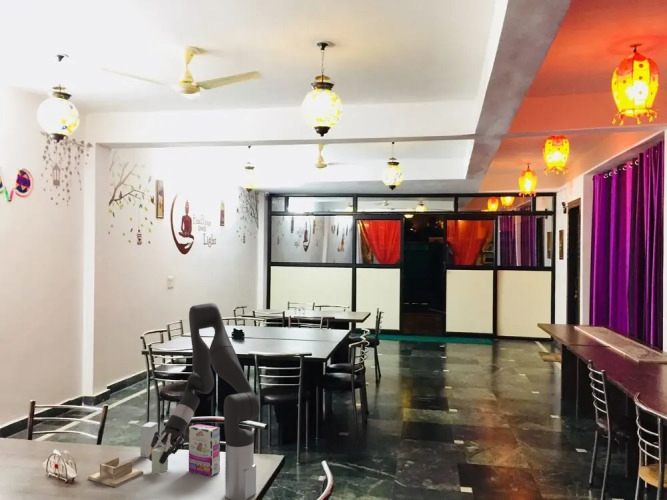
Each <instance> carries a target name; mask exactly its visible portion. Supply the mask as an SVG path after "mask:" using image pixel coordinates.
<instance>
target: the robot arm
mask: <svg viewBox="0 0 667 500" xmlns="http://www.w3.org/2000/svg"><path fill="white" fill-rule="evenodd" d="M188 322H189V331H190V341H191V346H192V347H191V348H192V366H191V367H192V369H191V370H192V371H193V372H192V373H191V374H190V375H188V376H189V377H188V379H187V381H186V385H185V386H186V387H185V388H184V392H183V395H182V397H181V398H180V401H179V402H178V404H177V405H176V407H175V408H174V409H173V411H172V412H171V415H170V416H169V418H168V420H167V422H165V423H166V424H165V425H164V430H162V431H161V432H159V431H158V432H155V434H154V437H153V440H152V443H151V447H152V448H153V449H155V448H158V447H164V448H166V449H165V452H164V453H163V454H162V456H161V458H160V460H159V462H160V463H161V464H164V463H165V462H166V460H167V458H168V459H169V456H171V455H172V454H173V455H175V454H177V452H178V451H179V449H180V448H181V447H182V446H183V445H184V443H185V442H186V440H185V439H184V438H183V437H182V436H183V435H184V434H185V431H186V430H187V427H189V424H190V422H191V420H192V418H193V416H194V413H195V411H196V410H197V408H198V406H199V405H200V402H201V400H200V397H199V396H198V395H196V394H195V393H194V391H195V392H198V393H200V394H204V395H205V394H207V395H208V394H210V393H211V392H212V390H213V389H214V387H215V378H214V374H213V371H214V373H215V374H216V375H217V376H219V377H220V378H221V379H222V380H224V381H225V382H226V383H228V384H229V385H230V386H231V387H232V388H233V389H234V390H235V391H236V393H234V394H233V393H232V394H228V395H226V396H225V398H224V400H223V401H224V402H223V424H224V427H223V428H224V436H225V467H224V468H225V475H224V476H225V487H224V488H225V489H224V490H225V491H224V493H225V495H224V496H225V497H226V499H228V500H249V499H250V498H252V497H253V496H254V495H256V494H257V465H256V464H254V463H255V461H254V460H255V459H254V456H255V455H254V454H255V453H254V451H255V449H254V448H255V447H254V445H255V444H254V443H255V436H254V435H255V434H254V432H253V431H251V430H249V429H246V428H245V429H244V428H240V423H243V422H249V421H252V420H256V419H257V418H258V417H259V416H260V413H261V411H260V410H261V408H260V402H259V399H258V397H257V394H256V393H255V391H254V388H252V385H251V384H250V382H249V380H248V378H247V376H246V374H245V373H244V370H243V368H242V365H241V363H240V361H239V358H238V355H237V353H236V351H235V348H234V346H233V344H232V342H231V340H230V337H229V335H228V333H227V330H226V327H225V324H224V321H223V318H222V314H221V312H220V308H219V307H218V306H217V304H216V303H214V302H208V303H203V304H196V305H195V304H194V305H192V306H191V307H190V308H189V311H188ZM208 328H213V329H214V330H213V331H214V335H213V338H212V341H211V343H210V345H209V346H208V345H207V343H206V342H205V341H204V340H203V338H202V337H201V334H200V330H203V329H208ZM211 367H212V368H211ZM212 369H213V370H212ZM154 444H155V445H154ZM148 460H149V461H150V462H152V452H151V454H150V456H149V457H148Z"/></svg>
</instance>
